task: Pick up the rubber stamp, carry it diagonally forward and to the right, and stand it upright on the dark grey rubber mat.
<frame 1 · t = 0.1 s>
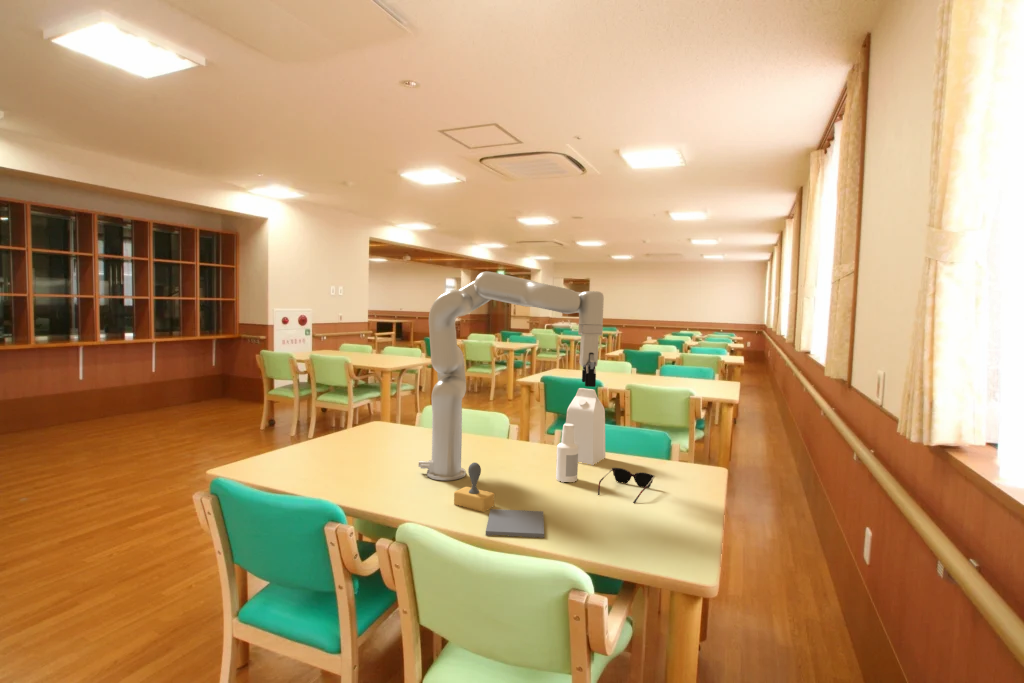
hand: (588, 384, 166), 31 cm above the table, tool pointing down, fingers open, 9 cm apart
rubber stamp: (474, 506, 145), on the table
sunglasses: (624, 493, 159), on the table
mat: (515, 524, 132), on the table
milk: (584, 459, 193), on the table
spray bottle: (566, 480, 168), on the table
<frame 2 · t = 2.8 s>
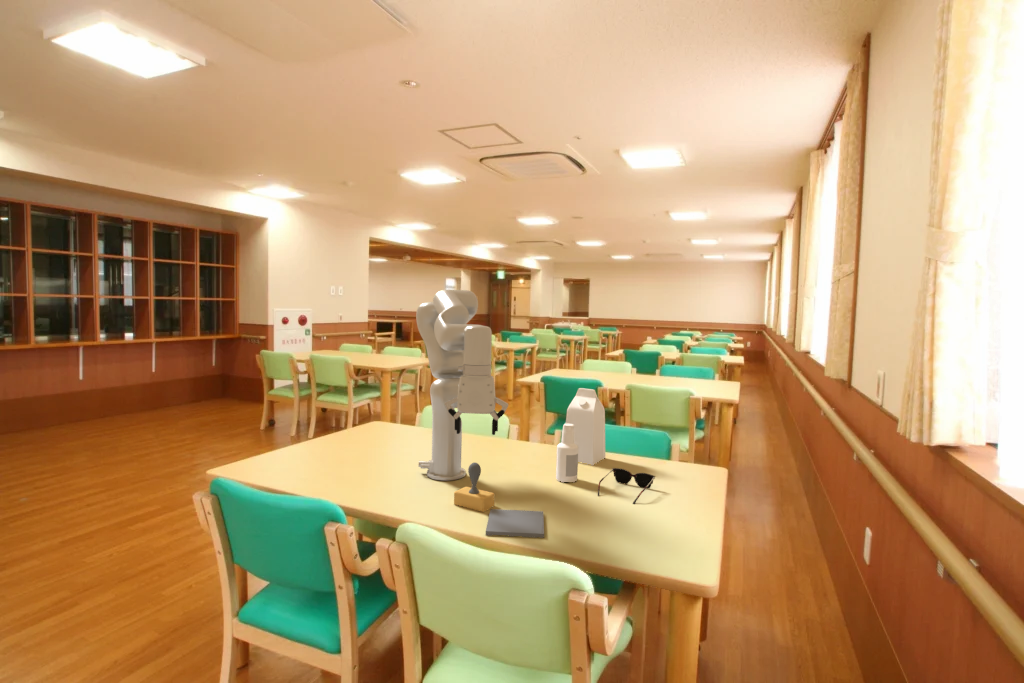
hand: (476, 433, 143), 20 cm above the table, tool pointing down, fingers open, 9 cm apart
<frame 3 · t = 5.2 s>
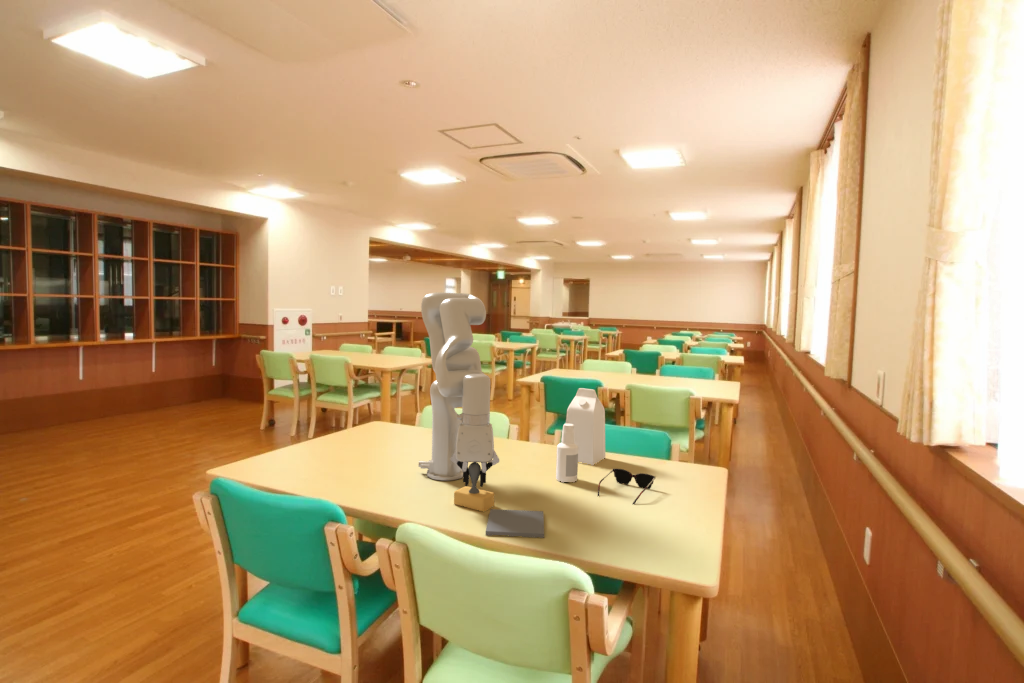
hand: (474, 484, 144), 6 cm above the table, tool pointing down, fingers closed on rubber stamp, 3 cm apart
rubber stamp: (473, 505, 144), on the table, touching gripper
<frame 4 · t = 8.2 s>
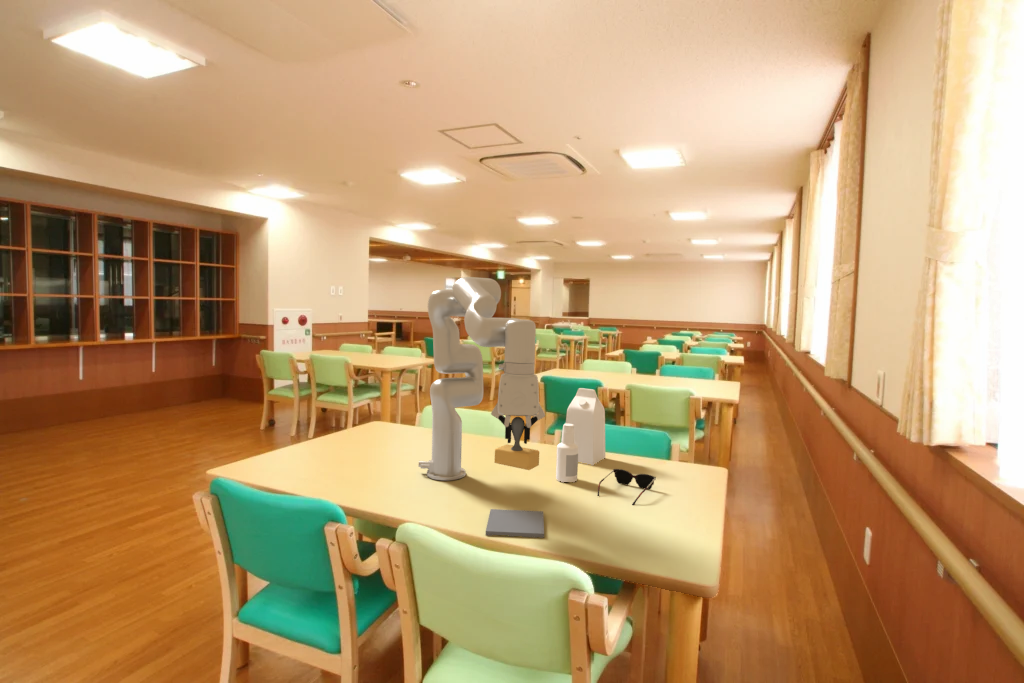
hand: (517, 441, 131), 21 cm above the table, tool pointing down, fingers closed on rubber stamp, 3 cm apart
rubber stamp: (516, 464, 131), point 15 cm above the table, touching gripper
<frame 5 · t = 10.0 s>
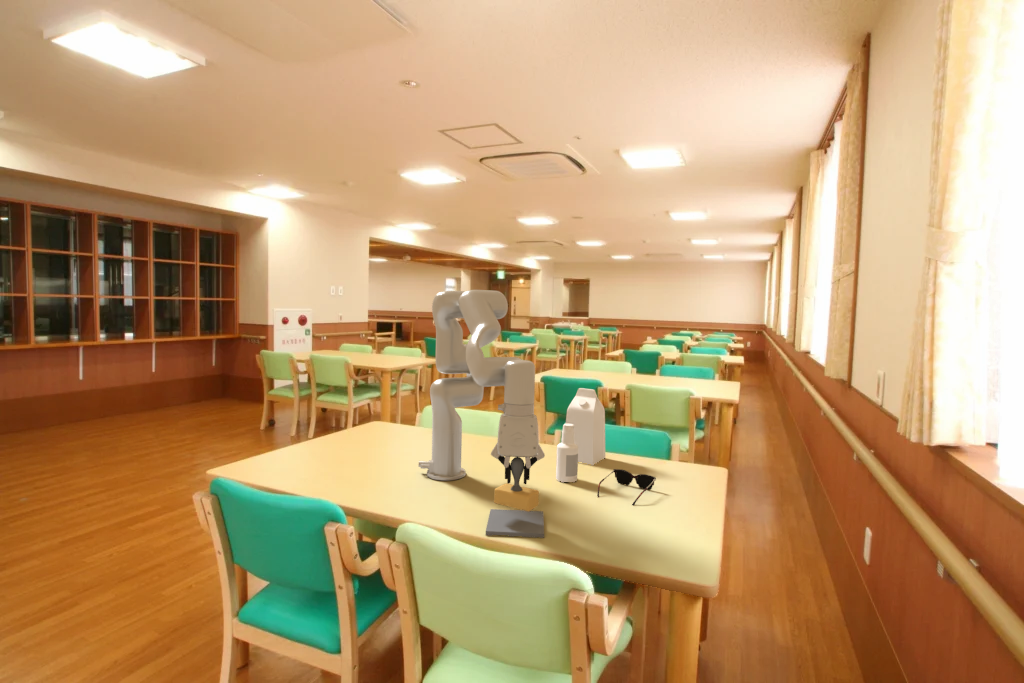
hand: (517, 481, 131), 11 cm above the table, tool pointing down, fingers closed on rubber stamp, 3 cm apart
rubber stamp: (516, 504, 132), point 5 cm above the table, touching gripper
when the fingers open (8 cm above the table, at t = 11.3 s): rubber stamp drops 1 cm, resting on mat.
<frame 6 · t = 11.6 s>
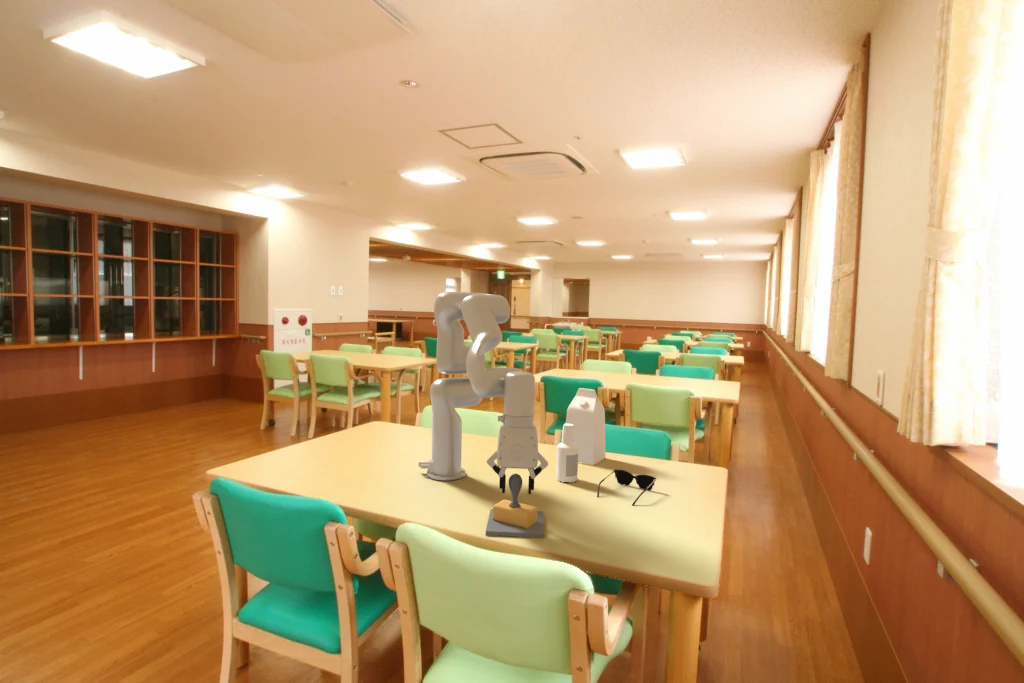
hand: (516, 491, 132), 9 cm above the table, tool pointing down, fingers open, 6 cm apart
rubber stamp: (514, 521, 132), point 1 cm above the table, touching mat
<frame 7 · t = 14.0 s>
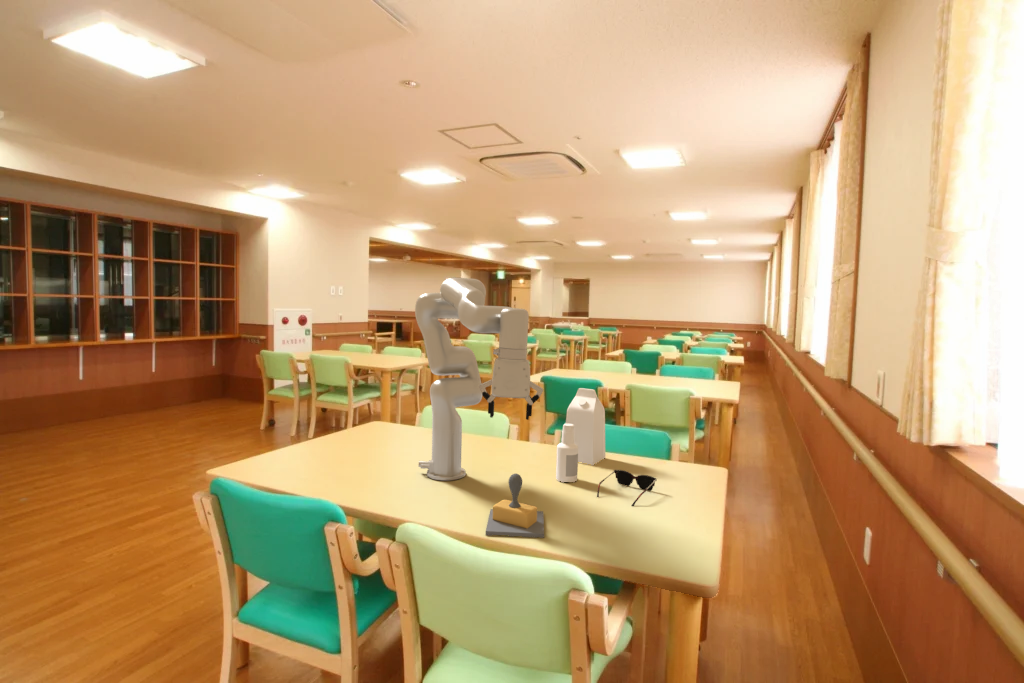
hand: (509, 417, 141), 25 cm above the table, tool pointing down, fingers open, 9 cm apart
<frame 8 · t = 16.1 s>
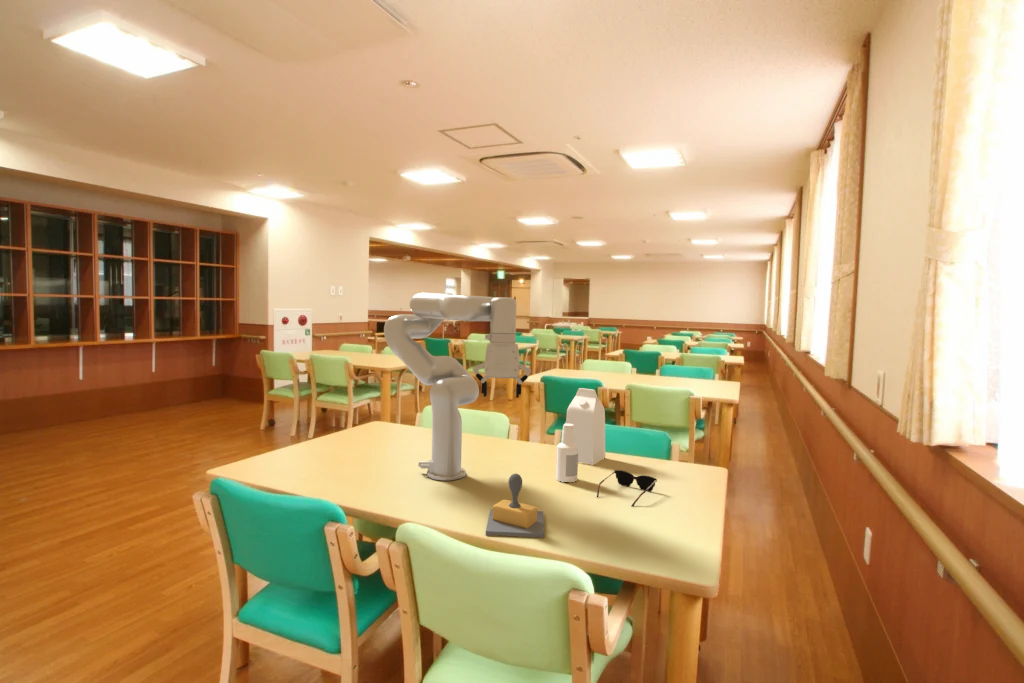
hand: (501, 396, 156), 28 cm above the table, tool pointing down, fingers open, 9 cm apart
at the end: rubber stamp inside the target area on the mat (0.3 cm from its centre), point 0.8 cm above the mat's base; rubber stamp tilted 0°; the gripper is holding nothing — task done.
